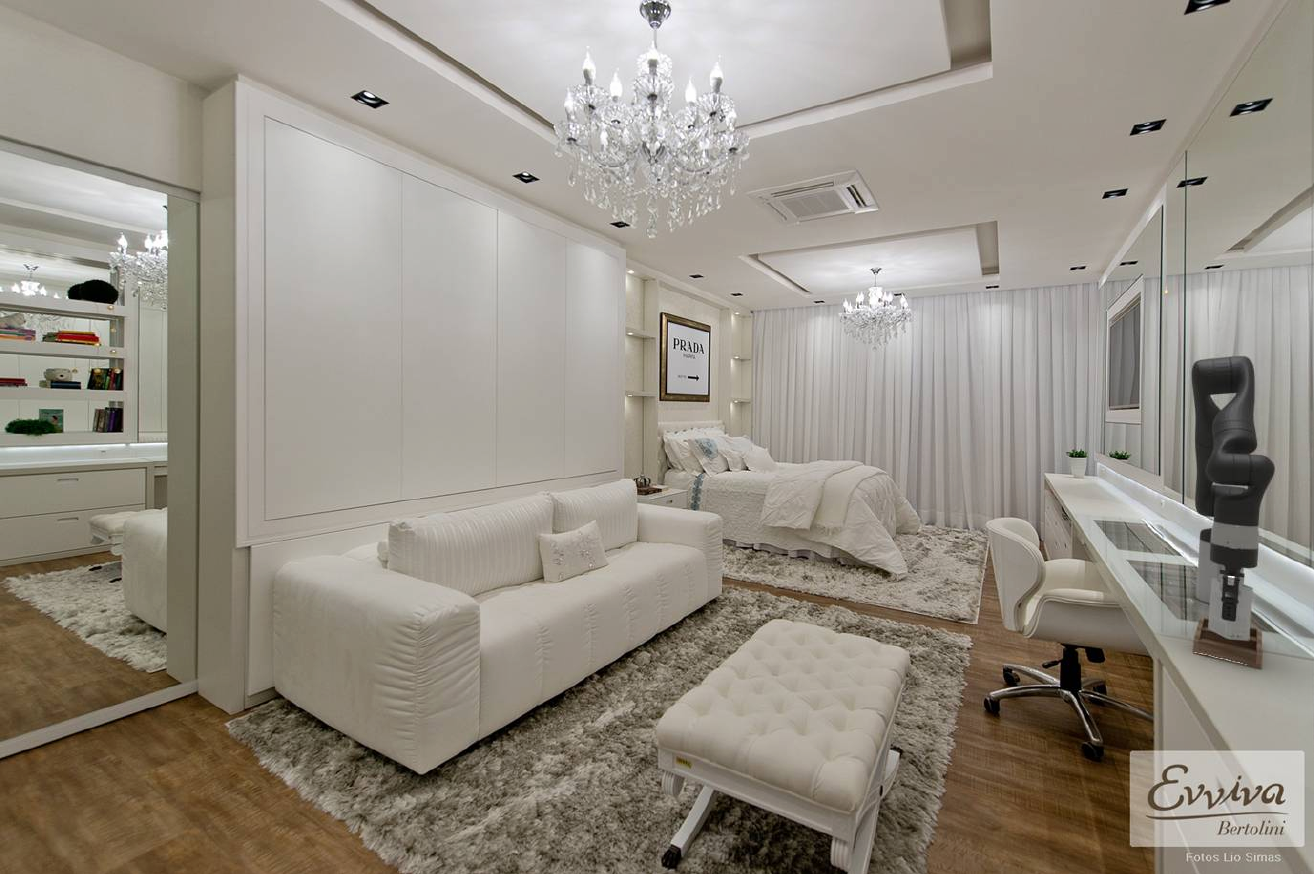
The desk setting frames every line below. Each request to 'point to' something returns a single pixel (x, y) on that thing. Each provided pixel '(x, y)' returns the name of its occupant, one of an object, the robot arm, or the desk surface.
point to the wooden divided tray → (1229, 645)
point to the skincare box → (1243, 613)
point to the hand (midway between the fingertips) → (1229, 615)
